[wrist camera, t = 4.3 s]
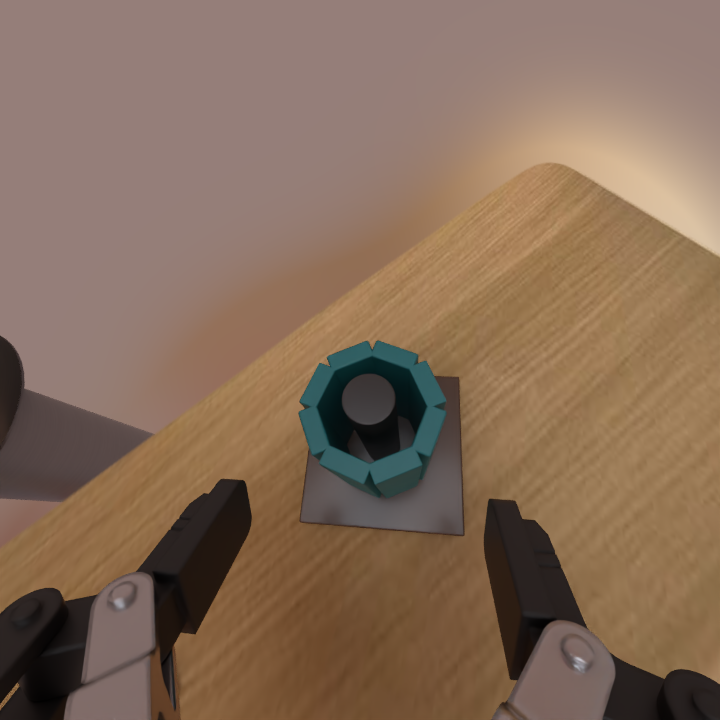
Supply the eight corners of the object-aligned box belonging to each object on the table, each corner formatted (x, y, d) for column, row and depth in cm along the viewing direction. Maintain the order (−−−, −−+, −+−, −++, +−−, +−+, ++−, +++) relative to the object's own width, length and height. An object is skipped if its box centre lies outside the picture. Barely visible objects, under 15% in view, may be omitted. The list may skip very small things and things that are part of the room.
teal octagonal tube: (320, 471, 21) (276, 444, 14) (359, 387, 23) (338, 325, 16) (410, 513, 20) (412, 507, 13) (444, 420, 22) (463, 369, 15)
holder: (303, 522, 21) (226, 521, 12) (321, 378, 25) (272, 295, 16) (462, 535, 20) (506, 546, 11) (457, 382, 24) (487, 294, 15)
